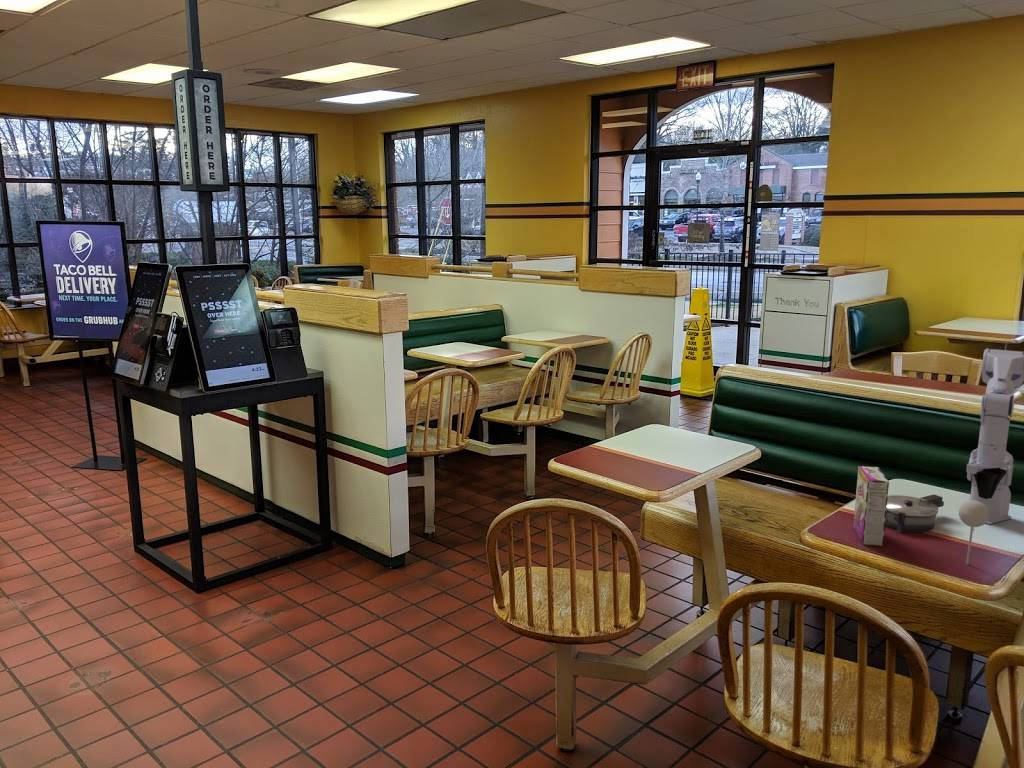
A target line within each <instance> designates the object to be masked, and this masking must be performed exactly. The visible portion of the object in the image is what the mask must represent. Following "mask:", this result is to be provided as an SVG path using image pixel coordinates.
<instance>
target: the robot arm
mask: <svg viewBox="0 0 1024 768" xmlns="http://www.w3.org/2000/svg"><path fill="white" fill-rule="evenodd" d="M982 356H983V357H982V364H981V378H982V382H983V383H985V384H986V389H985V393H984V394H982V396H981V397H982V398H981V401H980V402H981V404H980V429H979V437H978V443H977V444H978V445H977V448H976V449H973V450H972V451H971V452H970V458H969V461H968V463H967V464H966V474H967V475H966V478H967V480H968V481H969V482H971V487H970V488H971V489H970V495H969V497H970V498H969V501H971V500H975V501H979V502H981V503H983V504H984V505H985V506H986V507H987V509H988V511H989V519H988V521H987V522H986V523H985V524H988V525H992V524H996V523H999V522H1003V521H1006V520H1010V519H1012V516H1011V515H1009V511H1010V504H1011V497H1012V494H1011V490H1010V487H1009V486H1011V485H1012V477H1013V470H1014V458H1013V455H1012V454H1011V453H1009V452H1008V451H1007V444H1008V436H1009V431H1010V428H1009V427H1010V420H1011V419H1012V418H1013V415H1014V407H1015V400H1016V399H1015V394H1014V392H1015V388H1017V387H1020V386H1023V382H1024V351H1018V350H1006V349H1005V350H1004V349H990V348H989V347H987V348H985V349H984V350H983V355H982Z"/></svg>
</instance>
